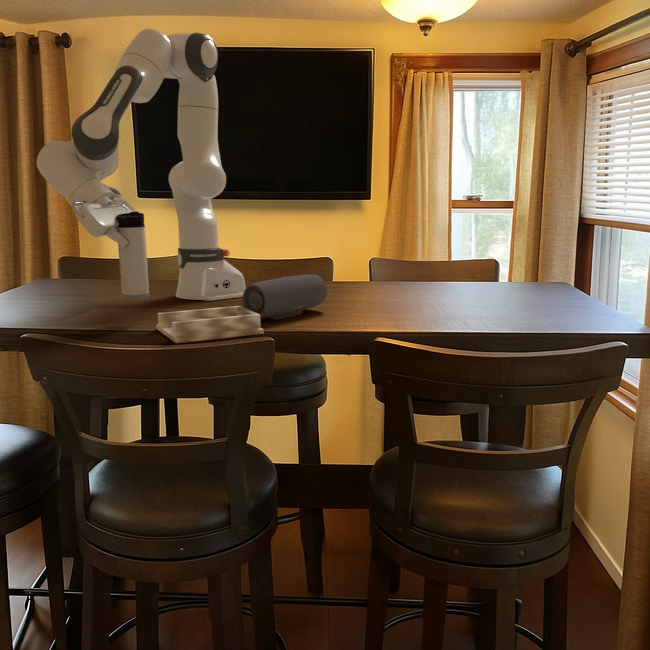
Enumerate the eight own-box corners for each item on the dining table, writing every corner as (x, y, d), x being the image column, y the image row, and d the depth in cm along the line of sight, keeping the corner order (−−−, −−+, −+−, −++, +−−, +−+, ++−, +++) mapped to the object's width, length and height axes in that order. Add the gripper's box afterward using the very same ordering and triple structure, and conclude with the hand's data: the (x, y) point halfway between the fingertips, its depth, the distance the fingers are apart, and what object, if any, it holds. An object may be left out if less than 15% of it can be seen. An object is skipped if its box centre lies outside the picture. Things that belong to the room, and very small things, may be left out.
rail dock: (237, 320, 168) (237, 304, 167) (263, 333, 154) (263, 316, 154) (156, 328, 159) (155, 311, 158) (176, 343, 145) (175, 324, 144)
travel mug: (153, 295, 166) (148, 211, 162) (143, 300, 160) (138, 213, 156) (128, 294, 167) (122, 211, 163) (117, 299, 161) (111, 213, 156)
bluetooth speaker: (301, 307, 186) (301, 270, 184) (328, 311, 180) (328, 273, 178) (240, 320, 168) (239, 280, 166) (268, 325, 163) (267, 284, 161)
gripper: (76, 192, 149) (120, 238, 149) (121, 189, 169) (161, 229, 169) (59, 213, 151) (103, 258, 151) (106, 208, 171) (145, 247, 171)
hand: (134, 243), depth 160 cm, fingers closed on travel mug, 6 cm apart
